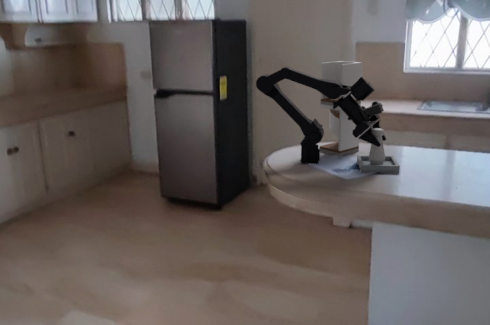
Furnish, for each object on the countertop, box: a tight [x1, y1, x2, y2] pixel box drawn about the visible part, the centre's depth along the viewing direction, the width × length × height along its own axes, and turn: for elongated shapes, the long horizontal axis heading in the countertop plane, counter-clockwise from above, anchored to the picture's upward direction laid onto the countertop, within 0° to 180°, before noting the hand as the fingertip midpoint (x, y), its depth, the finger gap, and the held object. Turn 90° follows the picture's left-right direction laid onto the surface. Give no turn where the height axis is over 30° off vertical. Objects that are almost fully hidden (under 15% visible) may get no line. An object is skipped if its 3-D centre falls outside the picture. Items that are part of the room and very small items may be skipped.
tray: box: [356, 155, 401, 174], centre depth 181 cm, size 13×13×2 cm
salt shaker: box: [368, 128, 386, 165], centre depth 179 cm, size 6×6×13 cm
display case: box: [319, 60, 364, 157], centre depth 199 cm, size 11×11×35 cm
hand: (382, 143), depth 178 cm, fingers open, 9 cm apart
